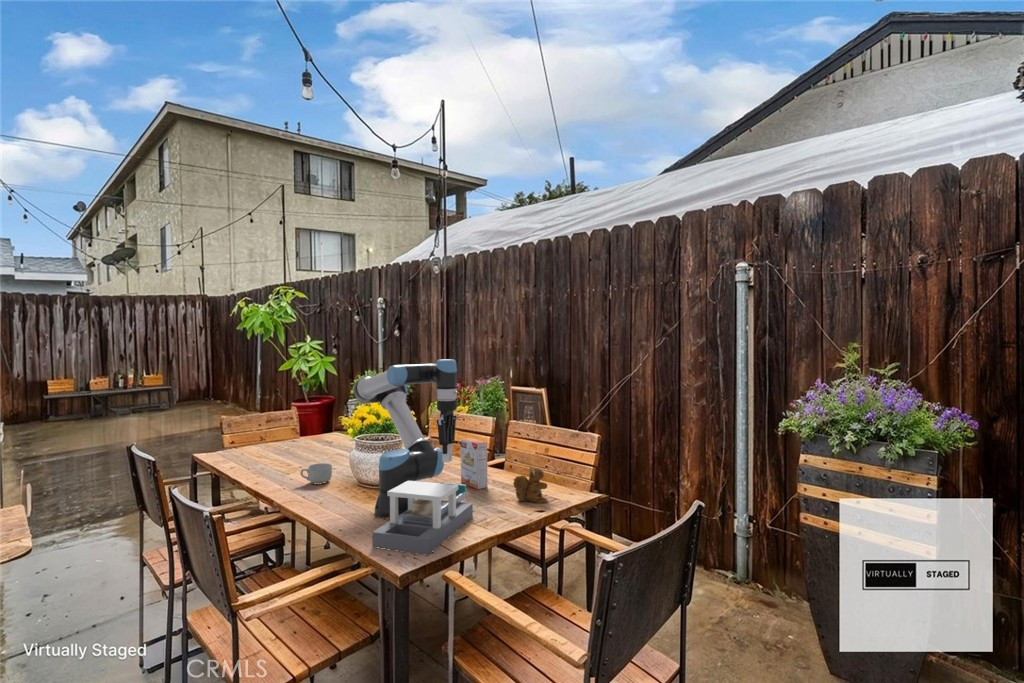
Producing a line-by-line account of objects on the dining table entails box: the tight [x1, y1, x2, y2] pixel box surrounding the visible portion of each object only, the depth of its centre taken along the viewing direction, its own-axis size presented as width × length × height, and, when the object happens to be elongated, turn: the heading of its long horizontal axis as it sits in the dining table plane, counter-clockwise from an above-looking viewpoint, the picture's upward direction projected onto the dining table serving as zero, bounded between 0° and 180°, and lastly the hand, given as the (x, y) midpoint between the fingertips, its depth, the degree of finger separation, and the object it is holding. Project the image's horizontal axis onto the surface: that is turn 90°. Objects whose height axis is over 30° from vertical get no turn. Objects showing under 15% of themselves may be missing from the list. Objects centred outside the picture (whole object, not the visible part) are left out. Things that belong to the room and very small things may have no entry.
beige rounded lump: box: [412, 499, 433, 516], centre depth 175 cm, size 6×6×6 cm
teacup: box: [299, 462, 333, 484], centre depth 236 cm, size 14×11×8 cm
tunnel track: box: [371, 480, 474, 556], centre depth 177 cm, size 20×36×16 cm, turn 162°
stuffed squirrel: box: [512, 467, 548, 504], centre depth 211 cm, size 10×14×13 cm
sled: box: [402, 482, 467, 525], centre depth 184 cm, size 11×30×5 cm, turn 162°
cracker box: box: [460, 437, 488, 490], centre depth 231 cm, size 14×6×21 cm, turn 37°
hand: (447, 461), depth 193 cm, fingers closed
